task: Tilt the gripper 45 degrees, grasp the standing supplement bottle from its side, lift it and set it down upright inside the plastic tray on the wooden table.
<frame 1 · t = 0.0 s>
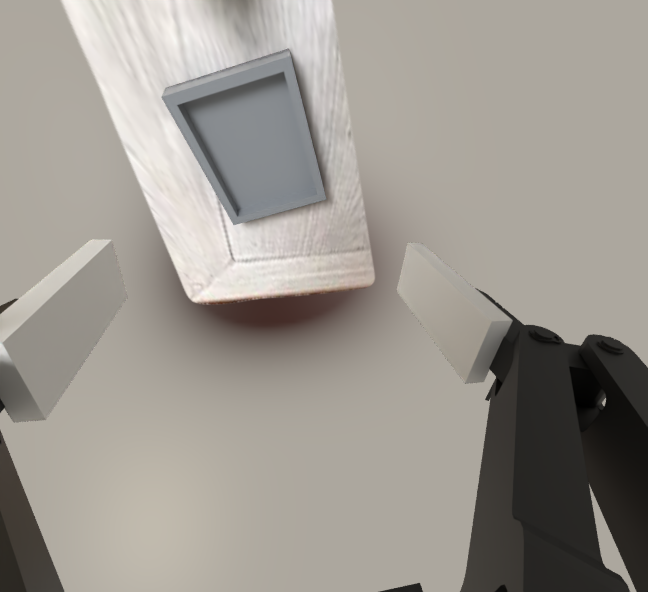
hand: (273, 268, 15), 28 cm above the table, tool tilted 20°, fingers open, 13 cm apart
tray: (256, 146, 37), on the table
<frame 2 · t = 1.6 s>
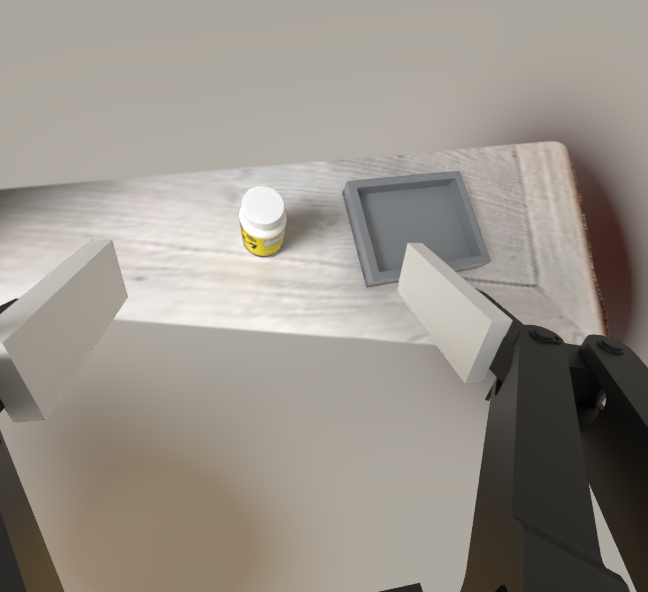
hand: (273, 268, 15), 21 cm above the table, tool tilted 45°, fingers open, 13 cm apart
tray: (410, 230, 41), on the table
supplement bottle: (263, 241, 38), on the table
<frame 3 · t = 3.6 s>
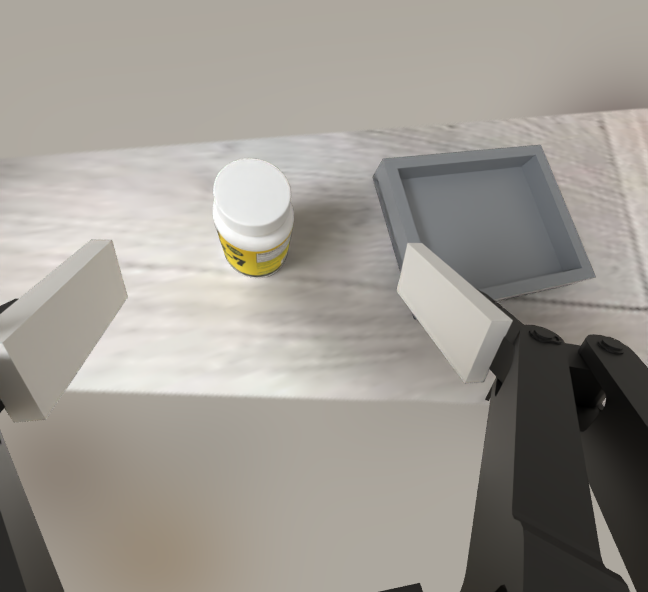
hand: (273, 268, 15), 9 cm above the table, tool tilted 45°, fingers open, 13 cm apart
tray: (472, 232, 28), on the table
supplement bottle: (256, 251, 24), on the table
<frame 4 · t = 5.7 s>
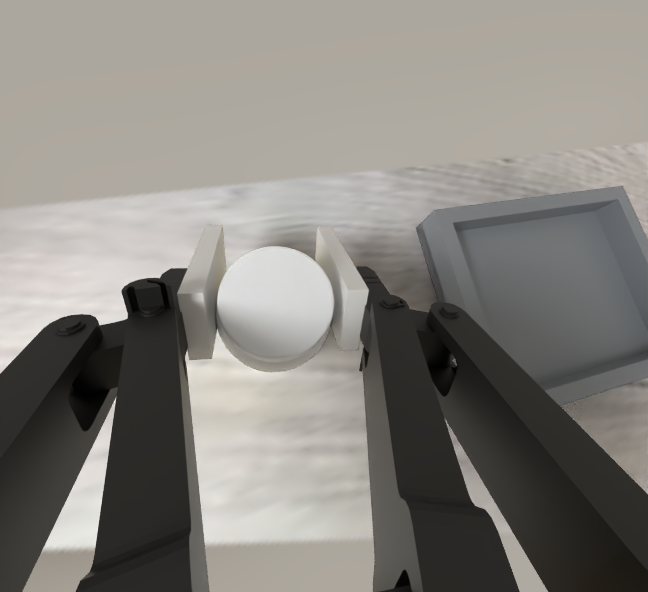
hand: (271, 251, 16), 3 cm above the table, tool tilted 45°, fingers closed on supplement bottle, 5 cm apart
tray: (539, 295, 23), on the table
supplement bottle: (272, 331, 19), on the table, touching gripper
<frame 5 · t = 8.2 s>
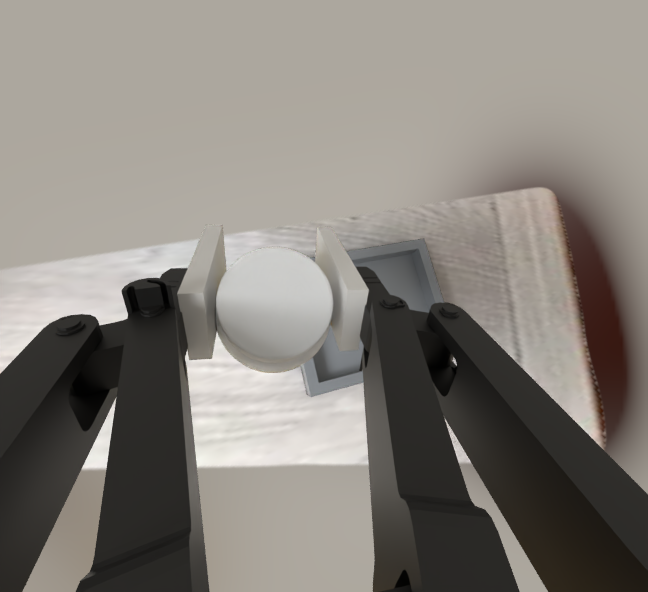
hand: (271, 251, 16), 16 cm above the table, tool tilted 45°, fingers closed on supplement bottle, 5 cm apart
tray: (364, 314, 34), on the table
supplement bottle: (271, 332, 19), point 13 cm above the table, touching gripper
when the fingers open (5 cm above the table, at t = 11.1 s): supplement bottle drops 1 cm, resting on tray.
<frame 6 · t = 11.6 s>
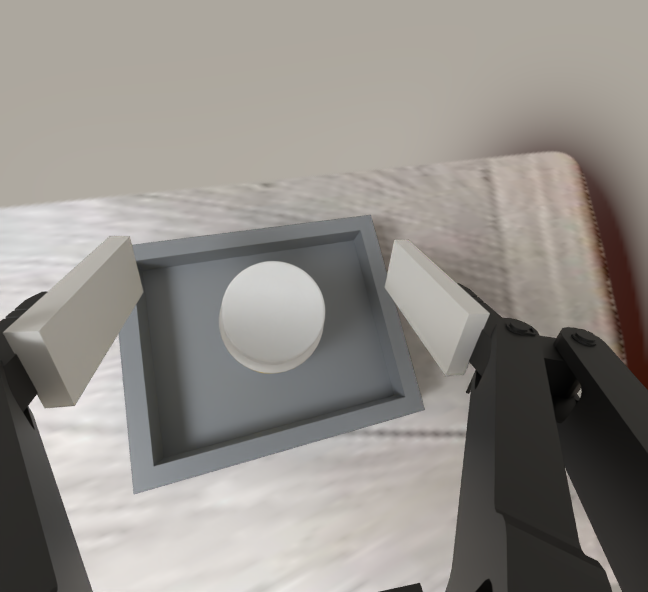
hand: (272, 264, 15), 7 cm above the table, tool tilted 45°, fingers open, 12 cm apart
tray: (271, 336, 21), on the table
supplement bottle: (269, 335, 20), point 1 cm above the table, touching tray
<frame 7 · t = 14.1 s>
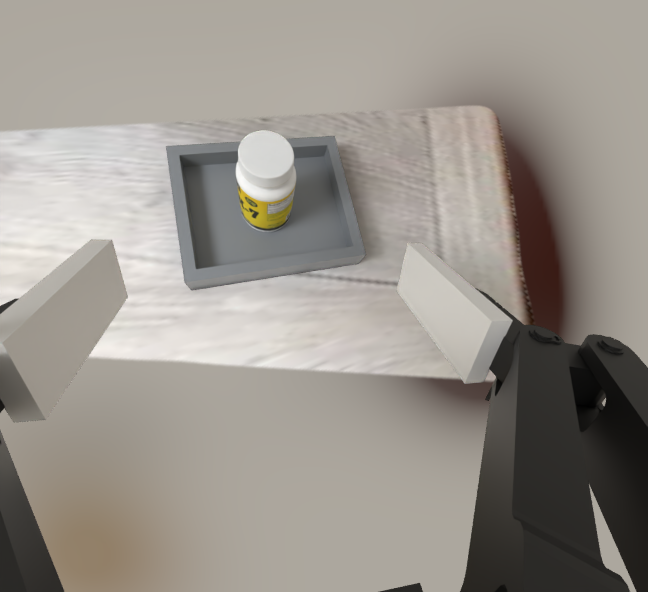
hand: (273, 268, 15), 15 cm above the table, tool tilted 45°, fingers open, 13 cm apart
tray: (267, 214, 31), on the table
supplement bottle: (266, 212, 31), point 1 cm above the table, touching tray
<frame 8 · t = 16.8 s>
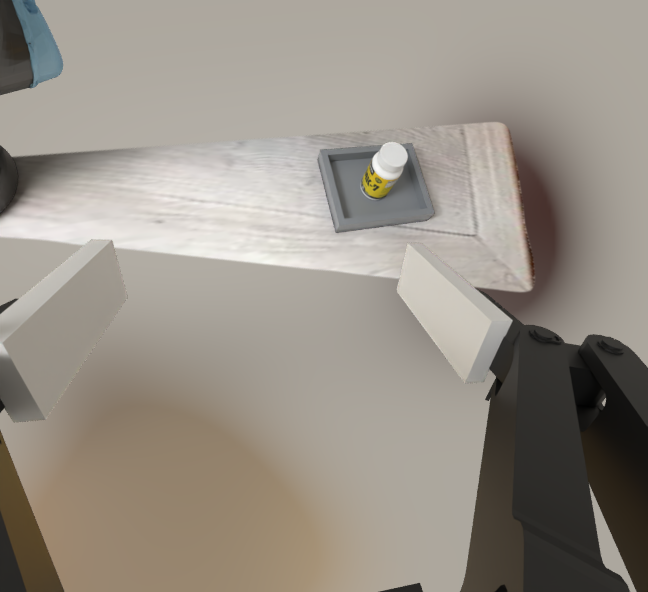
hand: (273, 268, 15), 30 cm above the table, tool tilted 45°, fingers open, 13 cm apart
tray: (372, 190, 52), on the table
supplement bottle: (373, 188, 51), point 1 cm above the table, touching tray
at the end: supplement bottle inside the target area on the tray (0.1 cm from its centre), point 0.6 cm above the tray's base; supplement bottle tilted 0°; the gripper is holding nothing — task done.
